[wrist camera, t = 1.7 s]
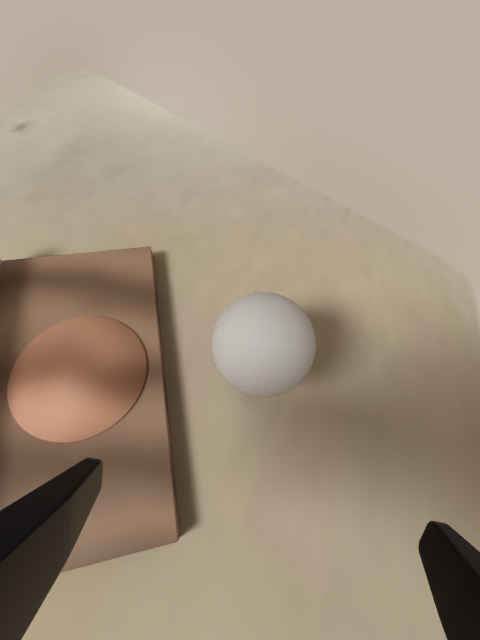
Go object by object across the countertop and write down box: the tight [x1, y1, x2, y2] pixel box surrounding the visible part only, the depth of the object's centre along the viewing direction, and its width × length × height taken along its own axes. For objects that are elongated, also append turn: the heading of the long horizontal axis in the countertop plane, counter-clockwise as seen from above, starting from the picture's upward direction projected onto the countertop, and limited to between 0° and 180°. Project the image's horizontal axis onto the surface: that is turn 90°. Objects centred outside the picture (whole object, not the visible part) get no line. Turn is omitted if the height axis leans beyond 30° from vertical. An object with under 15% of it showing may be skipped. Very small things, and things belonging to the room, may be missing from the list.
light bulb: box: [212, 292, 316, 397], centre depth 19 cm, size 6×6×10 cm
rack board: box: [0, 247, 180, 572], centre depth 20 cm, size 22×13×4 cm, turn 12°
